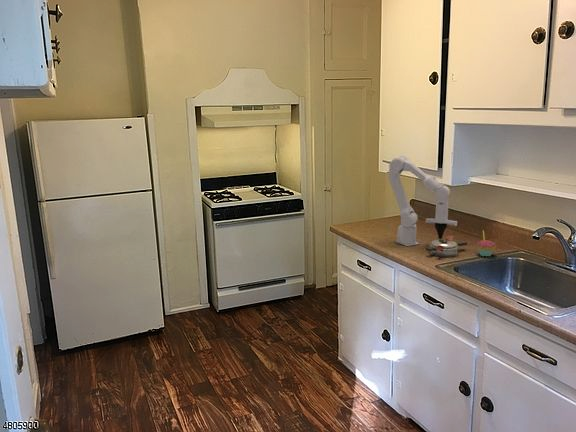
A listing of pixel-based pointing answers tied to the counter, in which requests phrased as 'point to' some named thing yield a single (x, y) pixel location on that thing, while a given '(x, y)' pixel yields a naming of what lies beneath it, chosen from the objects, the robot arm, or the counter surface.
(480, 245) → the cupcake
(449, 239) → the lid
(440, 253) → the pot
